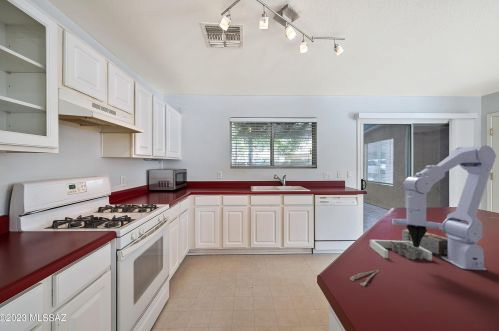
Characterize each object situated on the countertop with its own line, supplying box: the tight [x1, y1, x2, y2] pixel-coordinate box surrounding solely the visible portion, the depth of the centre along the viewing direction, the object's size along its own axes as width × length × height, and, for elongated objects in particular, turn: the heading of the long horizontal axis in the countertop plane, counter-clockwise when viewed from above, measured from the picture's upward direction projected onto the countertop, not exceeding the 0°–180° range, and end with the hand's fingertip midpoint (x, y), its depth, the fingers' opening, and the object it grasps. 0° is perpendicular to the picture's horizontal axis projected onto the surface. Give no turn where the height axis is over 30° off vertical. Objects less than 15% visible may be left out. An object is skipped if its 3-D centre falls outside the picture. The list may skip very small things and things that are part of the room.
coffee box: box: [401, 229, 448, 258], centre depth 92 cm, size 9×6×16 cm
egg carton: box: [390, 241, 425, 261], centre depth 87 cm, size 11×8×4 cm
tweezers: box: [349, 269, 380, 287], centre depth 70 cm, size 17×5×2 cm, turn 125°
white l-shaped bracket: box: [368, 239, 433, 261], centre depth 88 cm, size 12×17×3 cm
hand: (415, 246), depth 78 cm, fingers closed
